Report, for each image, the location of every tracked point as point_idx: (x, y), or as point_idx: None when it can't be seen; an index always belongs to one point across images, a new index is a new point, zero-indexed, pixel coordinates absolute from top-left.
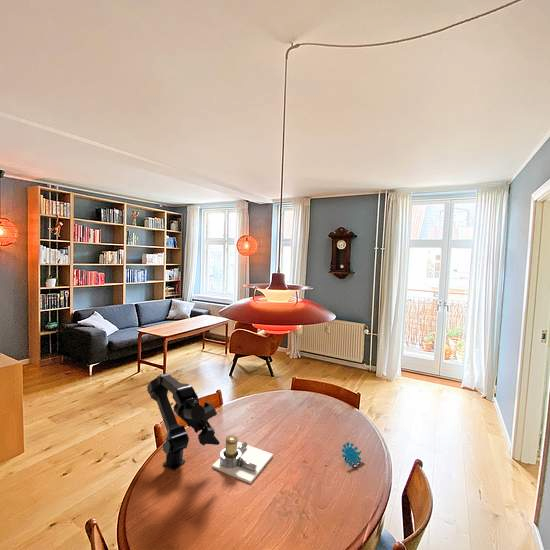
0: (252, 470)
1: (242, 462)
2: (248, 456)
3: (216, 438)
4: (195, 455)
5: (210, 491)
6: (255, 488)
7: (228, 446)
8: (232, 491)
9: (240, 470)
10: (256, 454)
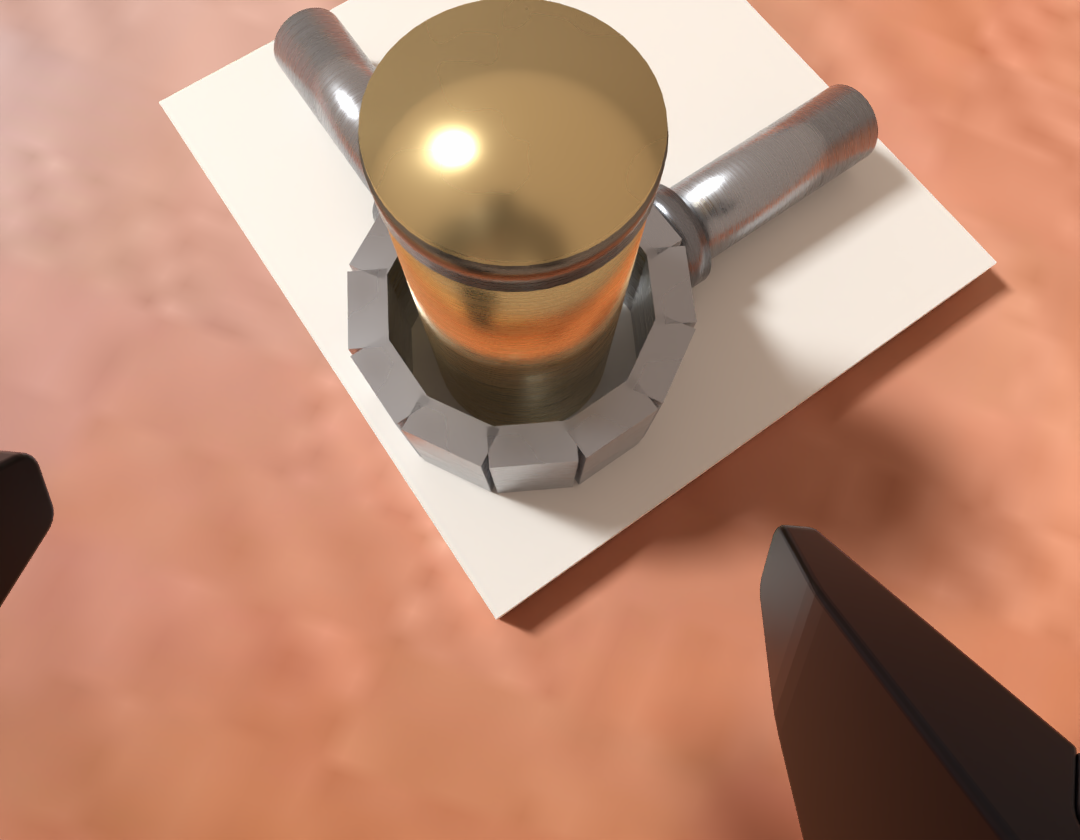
0: (846, 168)
1: (722, 219)
2: None
3: (966, 696)
4: (98, 772)
5: None
6: (1065, 260)
7: (598, 290)
8: (1046, 525)
9: (758, 297)
10: None
